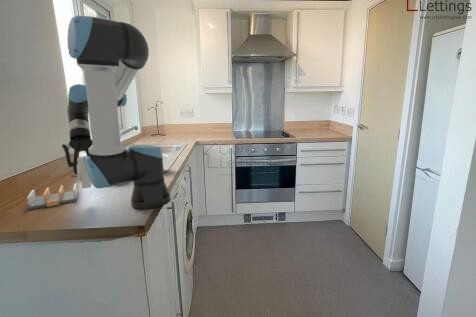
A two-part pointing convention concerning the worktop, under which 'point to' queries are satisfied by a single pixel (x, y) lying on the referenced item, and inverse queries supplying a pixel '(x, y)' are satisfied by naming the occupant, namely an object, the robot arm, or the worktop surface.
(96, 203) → the worktop surface
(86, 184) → the panel
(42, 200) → the rack
